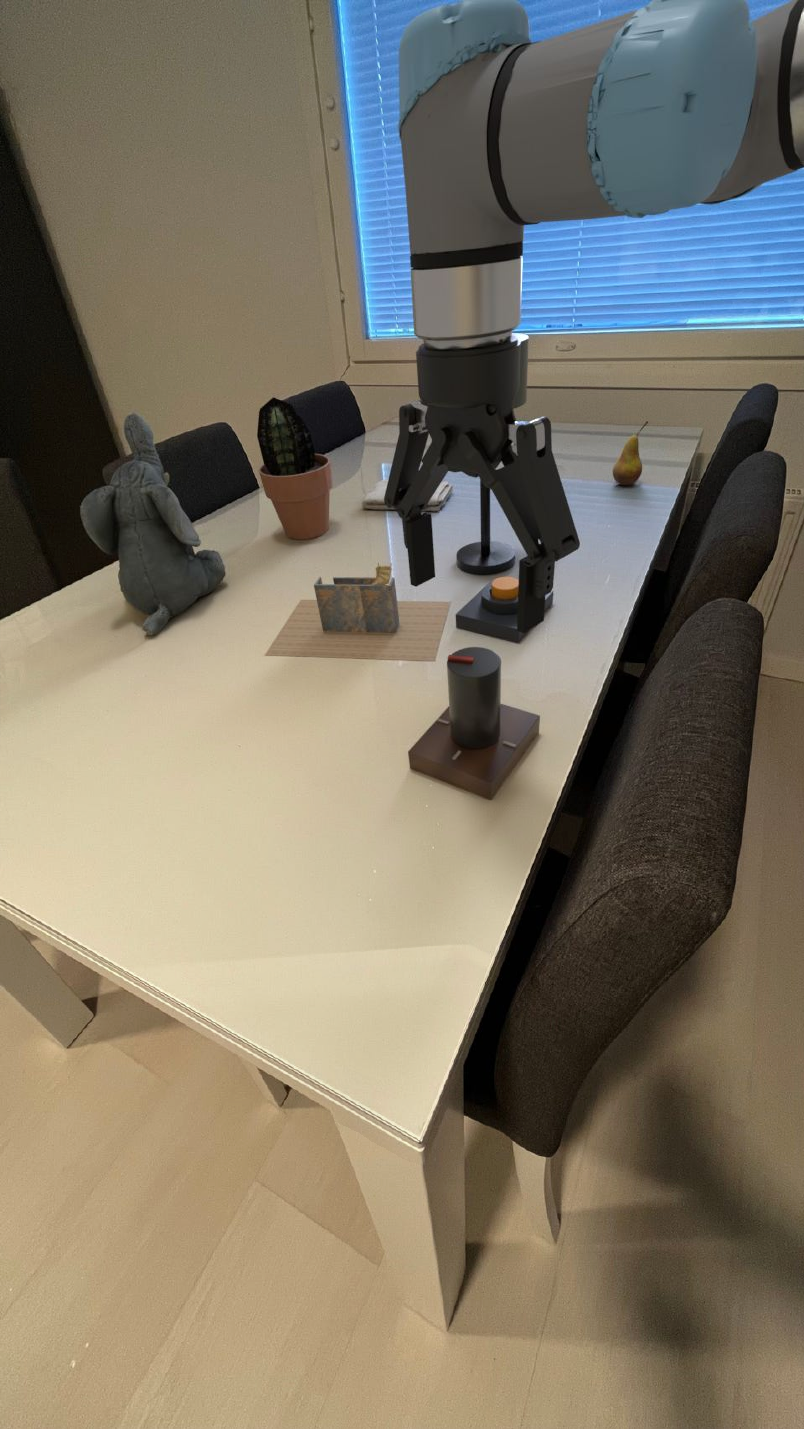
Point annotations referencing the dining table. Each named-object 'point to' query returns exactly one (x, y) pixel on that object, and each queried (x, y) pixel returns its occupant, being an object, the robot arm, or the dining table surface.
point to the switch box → (493, 615)
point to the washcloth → (377, 502)
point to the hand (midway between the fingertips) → (472, 602)
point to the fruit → (629, 462)
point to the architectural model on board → (362, 622)
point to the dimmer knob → (474, 696)
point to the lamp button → (505, 588)
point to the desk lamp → (489, 553)
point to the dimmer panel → (475, 753)
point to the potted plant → (293, 471)
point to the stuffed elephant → (150, 534)
